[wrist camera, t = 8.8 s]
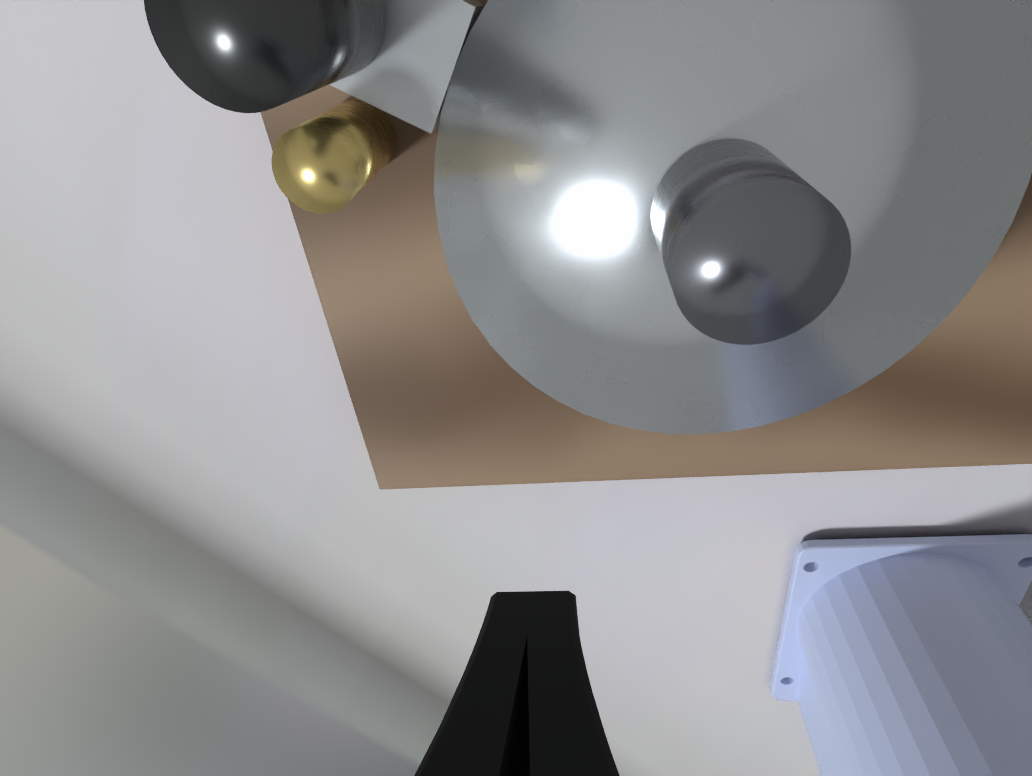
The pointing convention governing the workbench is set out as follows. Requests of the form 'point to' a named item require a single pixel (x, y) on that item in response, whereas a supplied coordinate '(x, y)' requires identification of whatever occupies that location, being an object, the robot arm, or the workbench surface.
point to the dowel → (333, 155)
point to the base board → (595, 443)
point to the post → (747, 243)
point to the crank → (665, 165)
